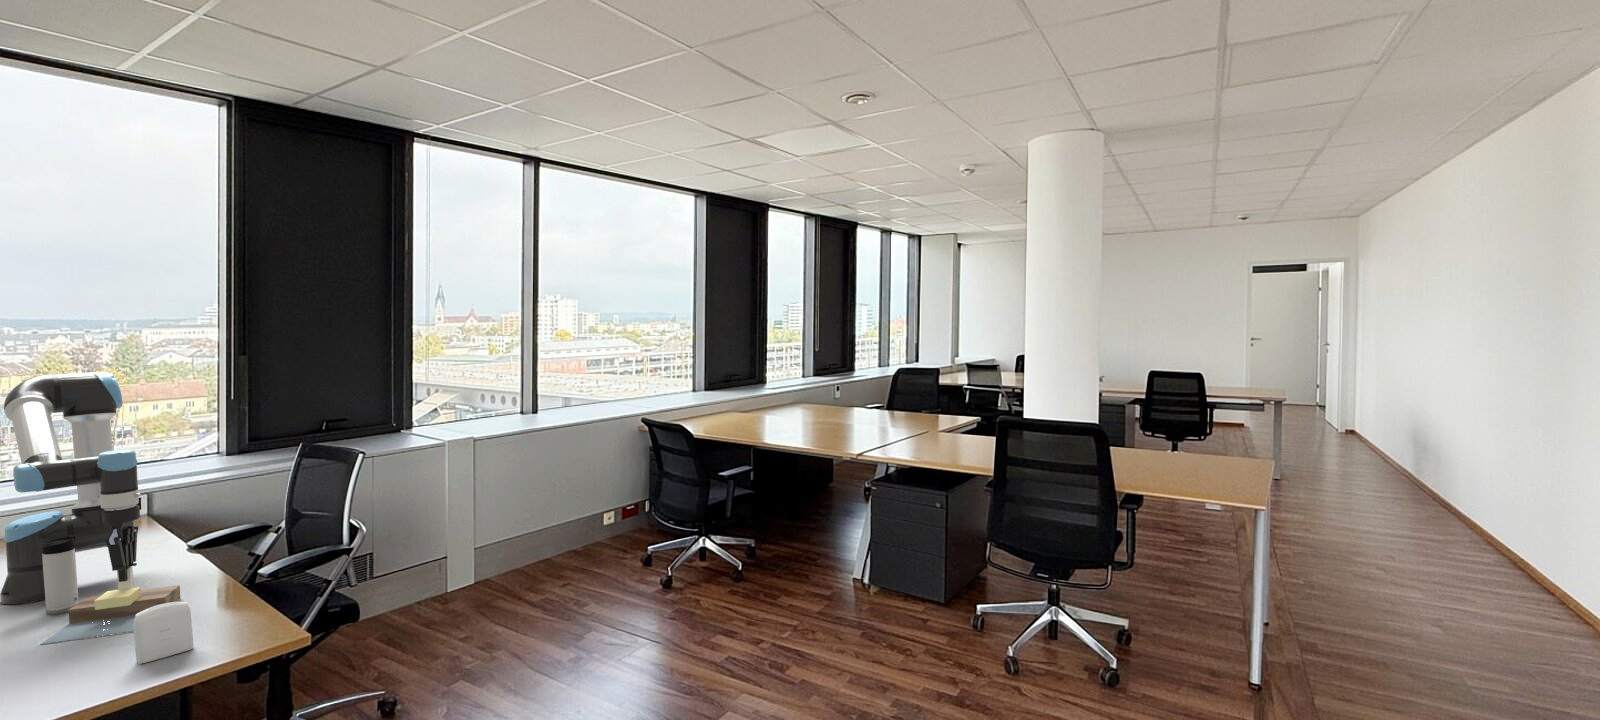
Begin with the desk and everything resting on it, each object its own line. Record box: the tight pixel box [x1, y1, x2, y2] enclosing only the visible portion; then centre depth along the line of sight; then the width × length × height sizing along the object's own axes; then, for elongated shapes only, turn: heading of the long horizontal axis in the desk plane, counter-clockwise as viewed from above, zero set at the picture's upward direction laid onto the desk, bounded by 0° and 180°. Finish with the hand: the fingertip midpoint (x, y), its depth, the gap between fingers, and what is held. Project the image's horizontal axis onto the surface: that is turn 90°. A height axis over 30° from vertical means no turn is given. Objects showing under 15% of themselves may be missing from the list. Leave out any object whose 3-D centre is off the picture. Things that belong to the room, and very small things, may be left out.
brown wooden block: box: [67, 584, 181, 624], centre depth 195 cm, size 10×20×4 cm, turn 113°
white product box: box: [133, 601, 194, 665], centre depth 169 cm, size 10×4×12 cm, turn 140°
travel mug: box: [42, 536, 79, 615], centre depth 196 cm, size 6×7×20 cm
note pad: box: [94, 586, 142, 610], centre depth 191 cm, size 7×7×2 cm
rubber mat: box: [39, 615, 135, 646], centre depth 185 cm, size 13×20×1 cm, turn 113°
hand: (126, 591), depth 195 cm, fingers closed
